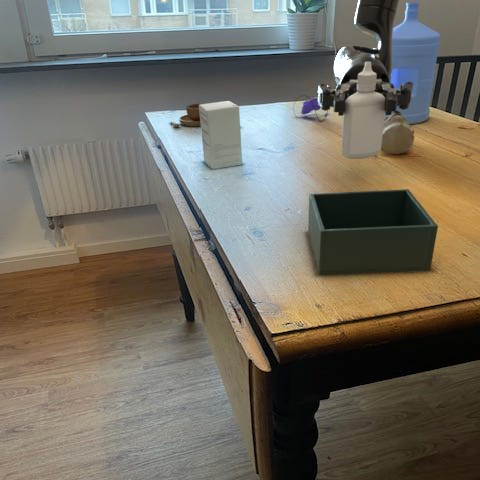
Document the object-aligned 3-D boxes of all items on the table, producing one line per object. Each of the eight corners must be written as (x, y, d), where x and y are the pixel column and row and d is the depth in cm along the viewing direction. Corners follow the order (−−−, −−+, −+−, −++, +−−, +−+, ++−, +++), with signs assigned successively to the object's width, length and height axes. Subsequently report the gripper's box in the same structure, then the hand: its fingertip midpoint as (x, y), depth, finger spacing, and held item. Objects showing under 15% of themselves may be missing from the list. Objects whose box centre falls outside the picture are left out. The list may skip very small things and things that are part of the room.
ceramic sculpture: (376, 116, 108) (368, 106, 121) (372, 157, 112) (365, 143, 125) (427, 115, 107) (414, 105, 120) (421, 156, 111) (409, 143, 124)
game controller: (291, 102, 151) (324, 93, 150) (297, 130, 153) (329, 121, 152) (291, 97, 142) (326, 87, 140) (297, 127, 144) (332, 118, 142)
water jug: (398, 110, 151) (411, 1, 135) (440, 119, 139) (459, 0, 124) (359, 119, 145) (368, 5, 129) (399, 128, 133) (414, 4, 118)
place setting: (221, 115, 158) (219, 95, 155) (243, 128, 143) (242, 106, 139) (167, 122, 154) (164, 102, 150) (184, 136, 138) (181, 114, 135)
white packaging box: (233, 157, 119) (229, 100, 112) (242, 165, 113) (239, 105, 106) (203, 161, 118) (197, 103, 111) (211, 170, 112) (206, 109, 105)
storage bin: (402, 229, 80) (408, 189, 77) (430, 270, 69) (438, 226, 65) (308, 233, 81) (309, 193, 77) (318, 275, 69) (320, 231, 66)
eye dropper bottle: (381, 159, 70) (391, 63, 63) (340, 159, 71) (346, 65, 64) (379, 150, 73) (389, 58, 67) (340, 150, 74) (346, 60, 68)
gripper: (319, 59, 79) (311, 77, 65) (414, 56, 76) (427, 74, 63) (317, 109, 83) (309, 137, 69) (407, 108, 80) (418, 136, 67)
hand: (365, 107), depth 66 cm, fingers closed on eye dropper bottle, 5 cm apart
